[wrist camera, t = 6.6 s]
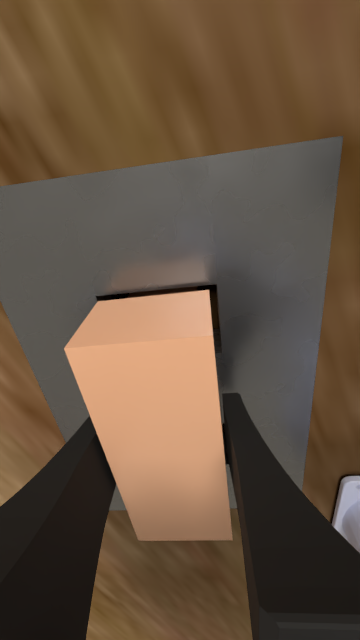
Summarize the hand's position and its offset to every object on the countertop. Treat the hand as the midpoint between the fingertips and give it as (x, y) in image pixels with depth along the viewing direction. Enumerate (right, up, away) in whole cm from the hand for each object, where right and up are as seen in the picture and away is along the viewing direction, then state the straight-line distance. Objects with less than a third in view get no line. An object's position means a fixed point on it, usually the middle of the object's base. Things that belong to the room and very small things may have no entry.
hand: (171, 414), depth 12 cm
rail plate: (0, +2, +3) cm, 3 cm away
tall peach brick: (0, +2, +3) cm, 3 cm away
